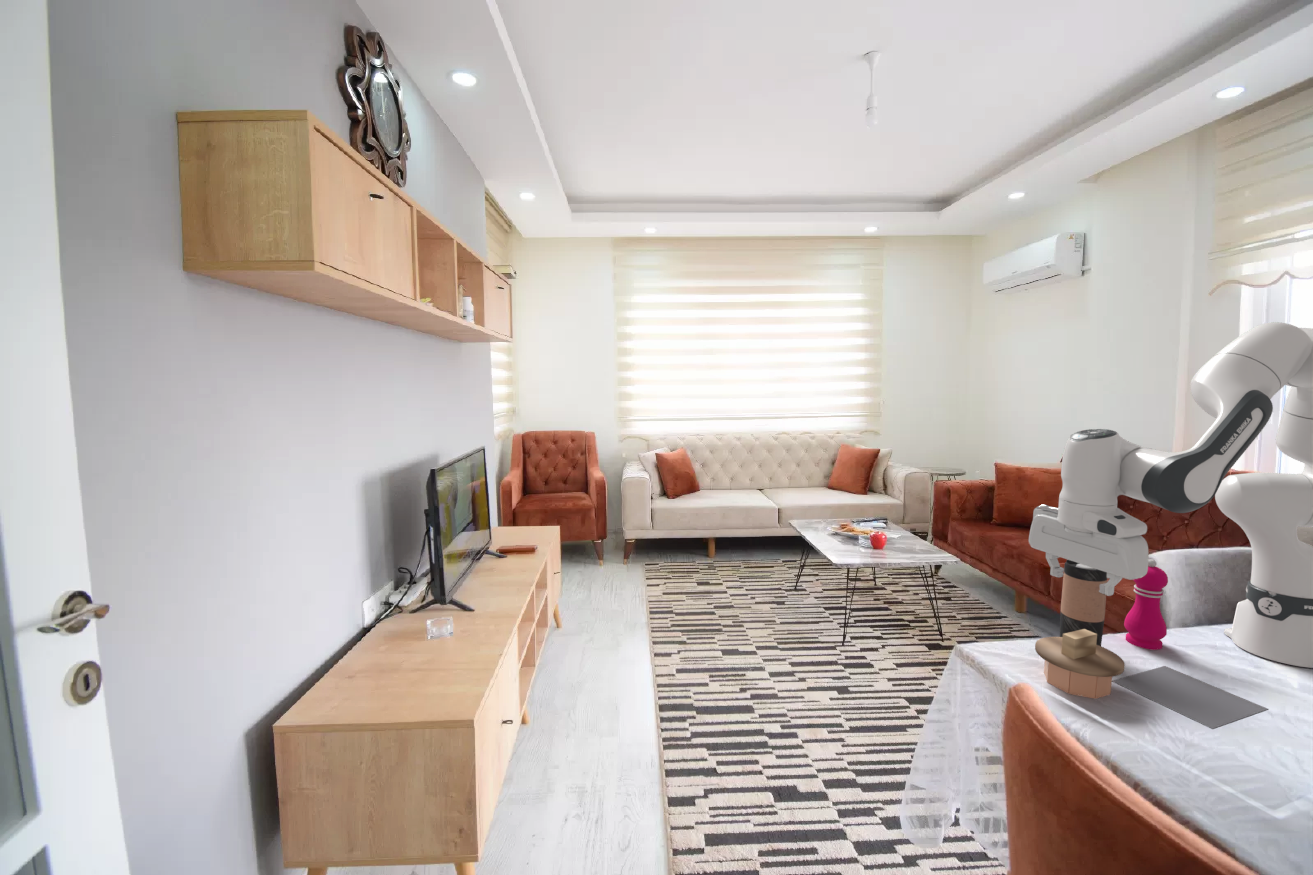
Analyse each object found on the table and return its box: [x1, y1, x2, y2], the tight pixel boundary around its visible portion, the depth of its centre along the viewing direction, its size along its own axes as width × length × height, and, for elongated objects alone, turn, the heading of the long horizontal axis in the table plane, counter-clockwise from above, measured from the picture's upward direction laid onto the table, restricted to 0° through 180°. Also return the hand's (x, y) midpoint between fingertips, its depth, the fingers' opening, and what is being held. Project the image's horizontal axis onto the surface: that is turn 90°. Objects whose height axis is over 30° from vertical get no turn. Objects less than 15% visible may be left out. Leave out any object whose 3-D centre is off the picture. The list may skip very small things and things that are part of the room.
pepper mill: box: [1123, 558, 1169, 651], centre depth 127 cm, size 7×7×20 cm
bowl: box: [1043, 660, 1113, 700], centre depth 112 cm, size 10×10×6 cm
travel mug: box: [1059, 559, 1108, 647], centre depth 124 cm, size 8×8×20 cm
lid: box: [1034, 629, 1126, 677], centre depth 111 cm, size 14×14×5 cm
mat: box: [1112, 665, 1269, 730], centre depth 108 cm, size 16×16×1 cm
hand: (1080, 584), depth 111 cm, fingers open, 8 cm apart
